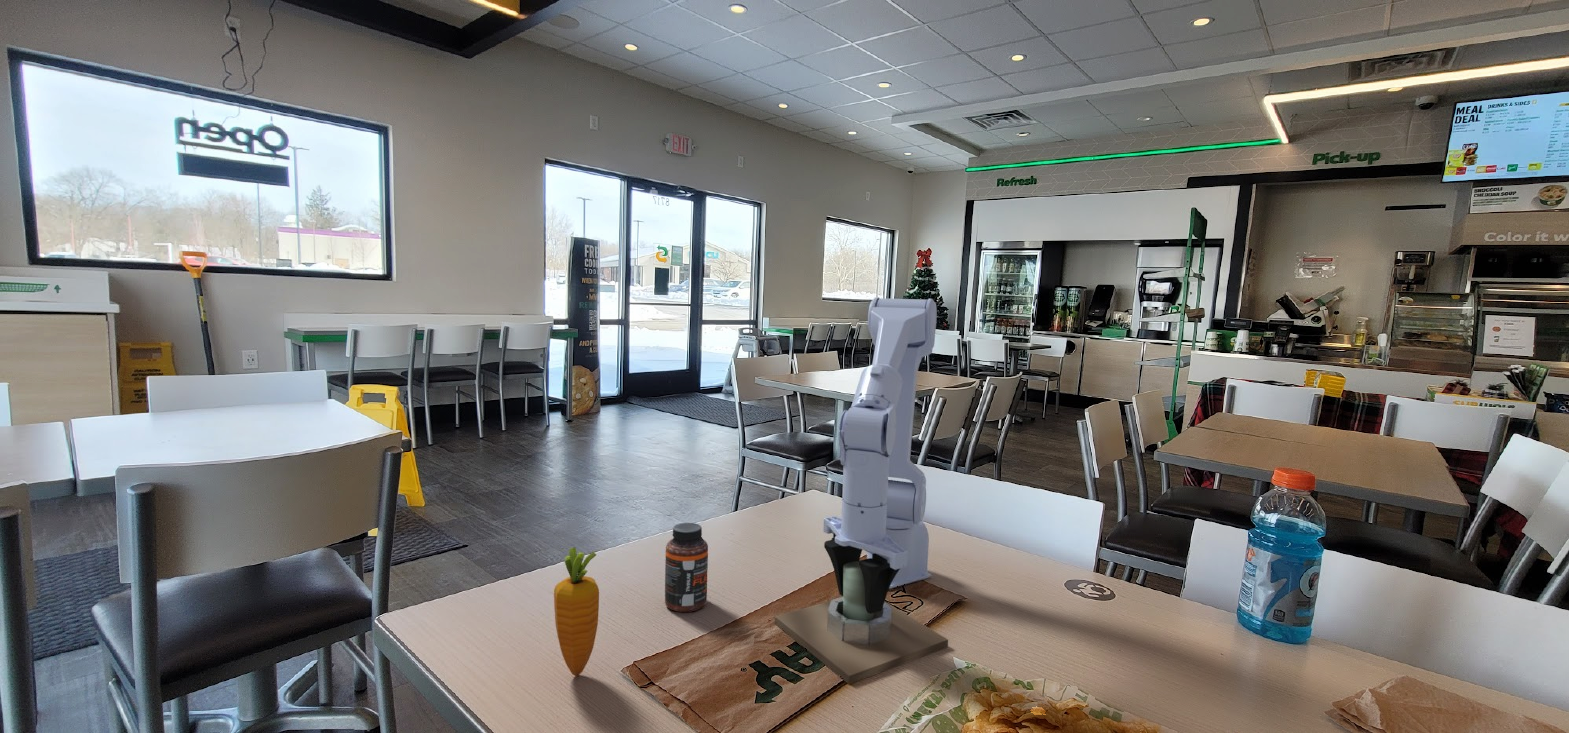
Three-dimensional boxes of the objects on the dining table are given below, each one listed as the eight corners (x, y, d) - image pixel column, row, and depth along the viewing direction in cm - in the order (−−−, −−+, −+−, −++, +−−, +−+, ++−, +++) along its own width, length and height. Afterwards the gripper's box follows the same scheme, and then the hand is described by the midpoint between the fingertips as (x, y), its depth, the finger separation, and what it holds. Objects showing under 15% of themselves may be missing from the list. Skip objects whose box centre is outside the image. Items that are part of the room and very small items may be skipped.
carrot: (560, 664, 77) (559, 540, 75) (603, 663, 77) (603, 540, 75) (548, 689, 72) (547, 558, 70) (594, 688, 72) (594, 557, 71)
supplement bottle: (699, 616, 89) (700, 536, 88) (658, 611, 90) (658, 532, 89) (712, 597, 95) (713, 521, 94) (673, 592, 96) (674, 518, 95)
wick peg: (860, 617, 88) (861, 559, 87) (880, 629, 84) (880, 568, 84) (836, 624, 86) (837, 565, 85) (855, 636, 82) (856, 574, 82)
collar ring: (863, 608, 91) (863, 590, 90) (903, 633, 84) (903, 615, 84) (816, 622, 86) (817, 604, 86) (854, 650, 80) (855, 630, 79)
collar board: (866, 596, 96) (866, 590, 96) (947, 647, 83) (948, 639, 83) (774, 623, 88) (774, 616, 87) (848, 684, 74) (849, 676, 74)
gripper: (806, 489, 87) (803, 587, 89) (878, 522, 75) (873, 634, 77) (848, 483, 91) (844, 576, 92) (922, 513, 79) (916, 620, 80)
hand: (860, 602), depth 85 cm, fingers open, 5 cm apart
